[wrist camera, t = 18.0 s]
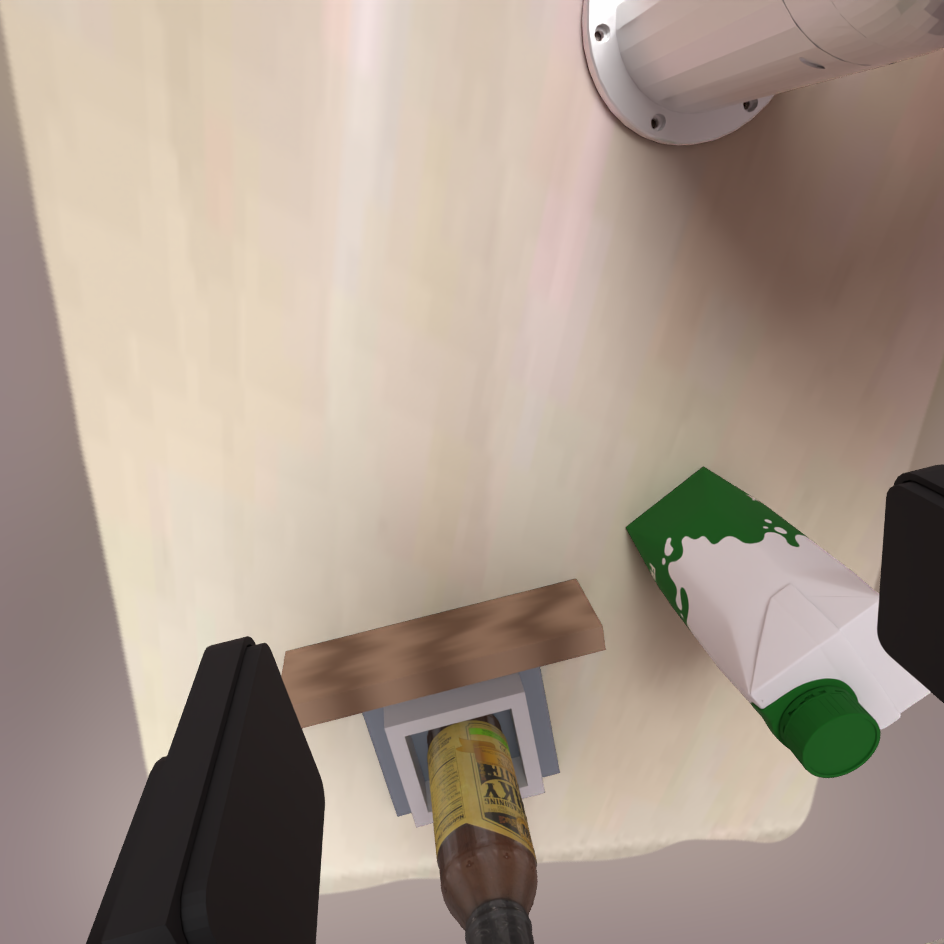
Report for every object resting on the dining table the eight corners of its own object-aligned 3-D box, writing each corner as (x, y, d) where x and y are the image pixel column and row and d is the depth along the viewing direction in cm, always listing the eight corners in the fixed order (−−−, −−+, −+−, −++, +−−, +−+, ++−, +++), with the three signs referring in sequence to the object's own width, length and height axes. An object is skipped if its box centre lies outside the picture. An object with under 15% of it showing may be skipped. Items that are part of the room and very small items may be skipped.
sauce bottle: (515, 736, 53) (594, 1014, 35) (449, 773, 54) (494, 1067, 36) (476, 685, 51) (539, 957, 33) (407, 725, 51) (432, 1015, 33)
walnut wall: (576, 578, 49) (602, 625, 44) (579, 600, 50) (605, 649, 45) (285, 651, 48) (275, 709, 43) (293, 672, 49) (284, 732, 43)
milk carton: (608, 526, 48) (757, 726, 30) (708, 447, 47) (928, 605, 29) (670, 599, 51) (838, 818, 33) (765, 527, 50) (995, 714, 32)
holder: (532, 634, 51) (544, 666, 47) (557, 765, 56) (569, 802, 53) (353, 680, 50) (353, 715, 46) (397, 808, 55) (399, 849, 52)
